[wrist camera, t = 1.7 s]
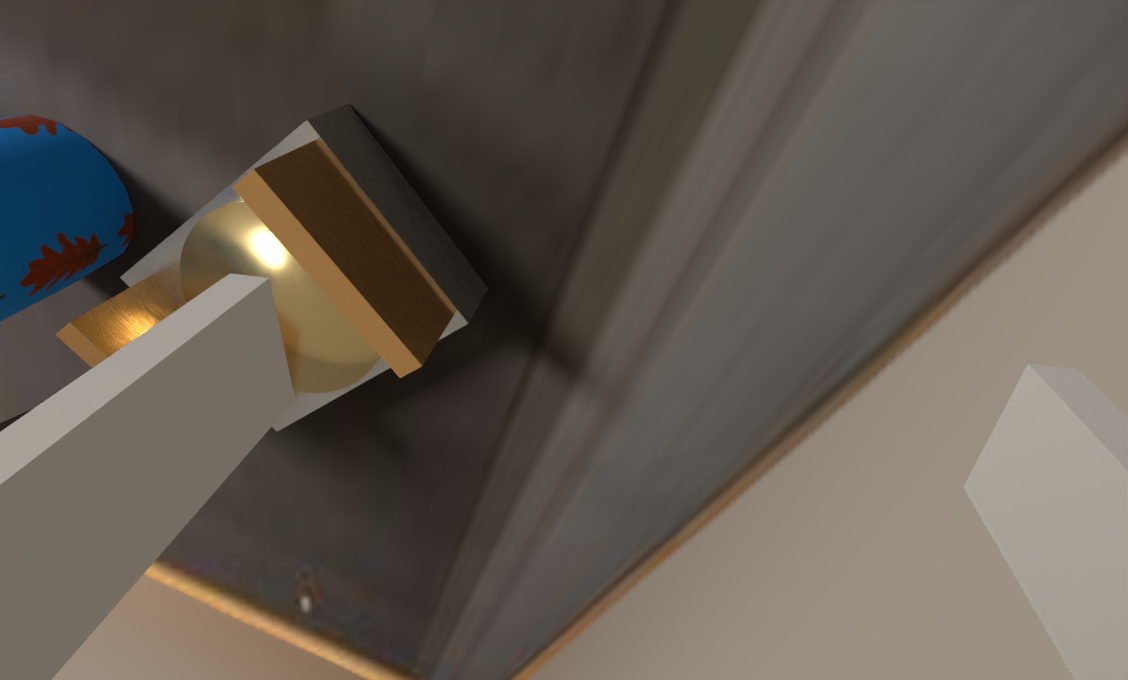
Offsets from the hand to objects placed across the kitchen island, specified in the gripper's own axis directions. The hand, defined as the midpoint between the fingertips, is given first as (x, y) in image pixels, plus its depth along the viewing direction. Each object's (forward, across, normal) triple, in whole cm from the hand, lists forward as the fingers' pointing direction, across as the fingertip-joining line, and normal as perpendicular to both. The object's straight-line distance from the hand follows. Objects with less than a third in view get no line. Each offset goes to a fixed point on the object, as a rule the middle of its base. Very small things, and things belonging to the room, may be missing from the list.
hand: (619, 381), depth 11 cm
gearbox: (+27, -21, -12) cm, 36 cm away
